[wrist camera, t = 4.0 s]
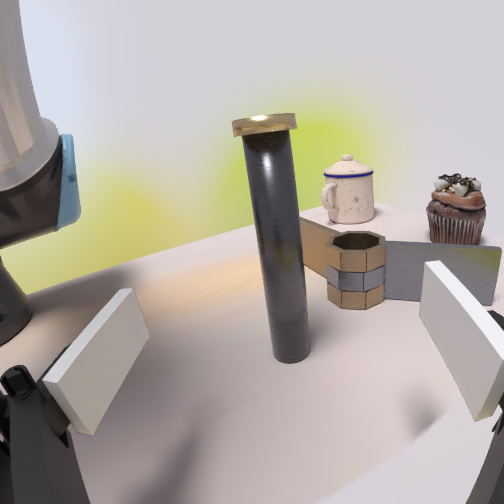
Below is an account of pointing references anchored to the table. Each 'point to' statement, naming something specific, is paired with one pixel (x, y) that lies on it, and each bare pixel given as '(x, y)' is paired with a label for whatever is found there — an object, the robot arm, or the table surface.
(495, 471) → the robot arm
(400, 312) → the table surface
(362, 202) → the teacup with lid
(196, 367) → the table surface
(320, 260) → the tan flat knuckled part
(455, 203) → the cupcake
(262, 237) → the hinge pin
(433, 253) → the hinge leaf
